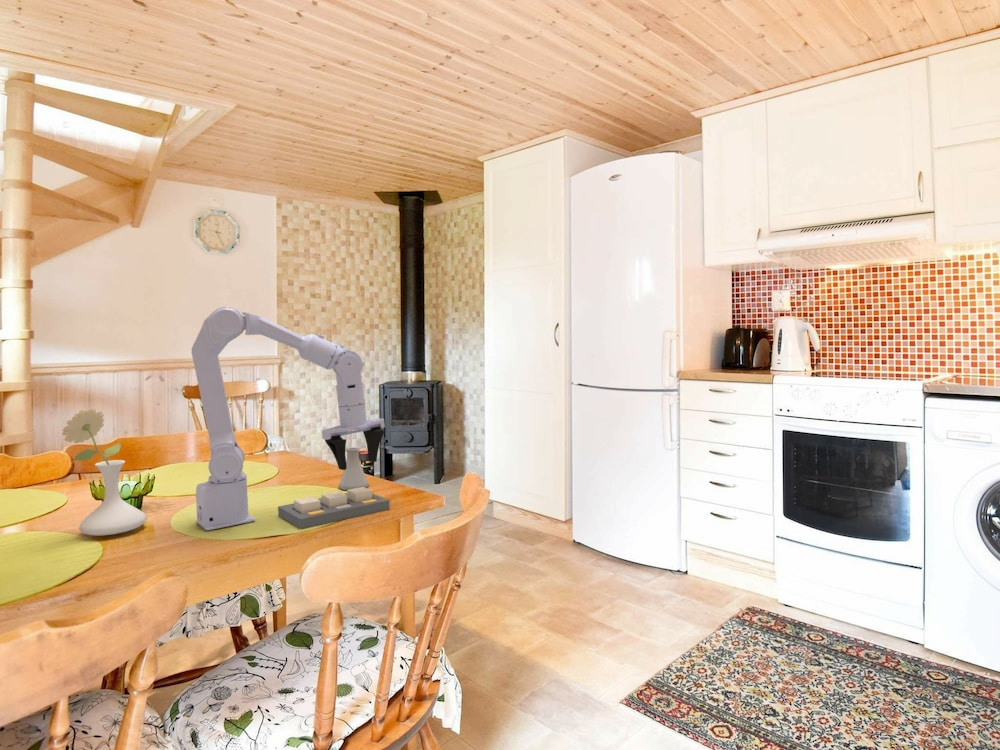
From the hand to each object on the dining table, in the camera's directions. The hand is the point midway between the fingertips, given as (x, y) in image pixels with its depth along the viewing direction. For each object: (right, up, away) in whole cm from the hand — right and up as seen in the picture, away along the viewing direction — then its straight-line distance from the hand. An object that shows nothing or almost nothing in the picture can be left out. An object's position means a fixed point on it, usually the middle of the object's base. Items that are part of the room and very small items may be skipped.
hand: (358, 465), depth 135 cm
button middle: (-4, -8, -4) cm, 10 cm away
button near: (-9, -8, -8) cm, 14 cm away
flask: (-5, -9, +18) cm, 20 cm away
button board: (-4, -10, -4) cm, 11 cm away
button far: (0, -8, 0) cm, 8 cm away
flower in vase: (-46, -11, -15) cm, 49 cm away
